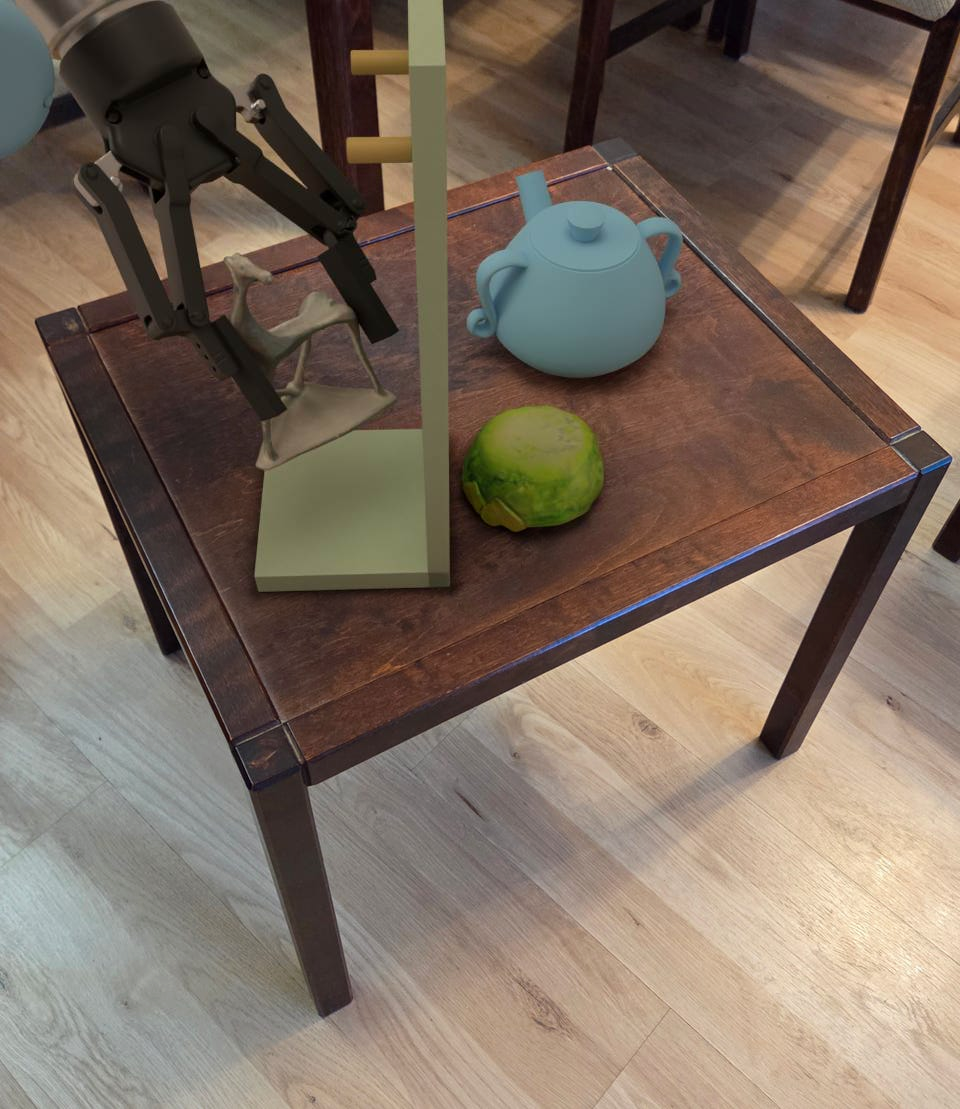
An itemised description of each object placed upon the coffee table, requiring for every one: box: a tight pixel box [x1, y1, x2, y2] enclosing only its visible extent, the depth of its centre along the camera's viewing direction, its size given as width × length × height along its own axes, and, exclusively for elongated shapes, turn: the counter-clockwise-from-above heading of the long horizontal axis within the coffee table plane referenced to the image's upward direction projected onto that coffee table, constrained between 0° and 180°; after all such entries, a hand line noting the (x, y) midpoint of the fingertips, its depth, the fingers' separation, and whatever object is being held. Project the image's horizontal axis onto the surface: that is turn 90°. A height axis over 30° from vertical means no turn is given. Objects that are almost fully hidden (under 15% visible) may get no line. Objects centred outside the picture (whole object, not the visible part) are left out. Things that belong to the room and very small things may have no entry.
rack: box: [254, 0, 451, 593], centre depth 65 cm, size 14×14×40 cm
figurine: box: [223, 252, 398, 471], centre depth 66 cm, size 11×6×15 cm, turn 123°
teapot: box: [466, 169, 684, 379], centre depth 90 cm, size 20×20×13 cm
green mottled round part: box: [461, 404, 605, 533], centre depth 82 cm, size 12×11×5 cm
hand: (331, 375), depth 66 cm, fingers closed on figurine, 9 cm apart
